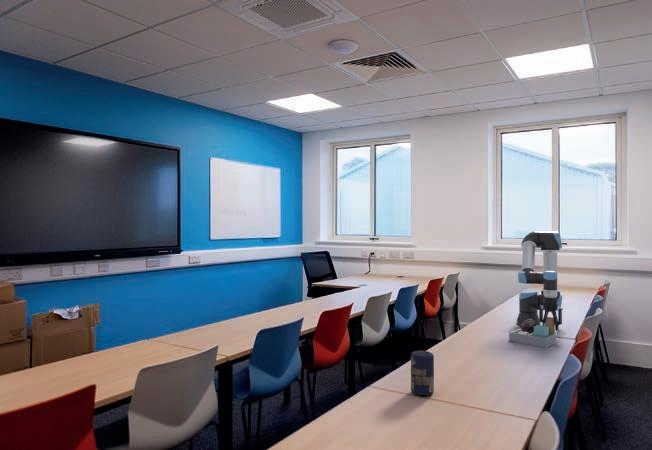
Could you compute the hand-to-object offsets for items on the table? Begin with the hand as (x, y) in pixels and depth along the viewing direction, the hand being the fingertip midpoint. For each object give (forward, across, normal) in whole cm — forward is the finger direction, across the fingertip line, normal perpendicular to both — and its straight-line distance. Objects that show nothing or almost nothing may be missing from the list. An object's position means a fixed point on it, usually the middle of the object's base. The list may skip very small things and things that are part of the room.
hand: (550, 334), depth 275 cm
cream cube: (+3, -10, -16) cm, 19 cm away
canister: (+2, -3, -128) cm, 128 cm away
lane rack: (+3, -5, -14) cm, 15 cm away
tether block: (+2, 0, -7) cm, 7 cm away
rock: (+3, -15, +6) cm, 17 cm away
